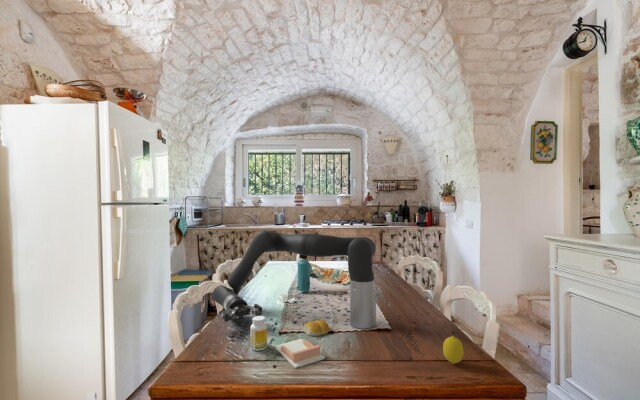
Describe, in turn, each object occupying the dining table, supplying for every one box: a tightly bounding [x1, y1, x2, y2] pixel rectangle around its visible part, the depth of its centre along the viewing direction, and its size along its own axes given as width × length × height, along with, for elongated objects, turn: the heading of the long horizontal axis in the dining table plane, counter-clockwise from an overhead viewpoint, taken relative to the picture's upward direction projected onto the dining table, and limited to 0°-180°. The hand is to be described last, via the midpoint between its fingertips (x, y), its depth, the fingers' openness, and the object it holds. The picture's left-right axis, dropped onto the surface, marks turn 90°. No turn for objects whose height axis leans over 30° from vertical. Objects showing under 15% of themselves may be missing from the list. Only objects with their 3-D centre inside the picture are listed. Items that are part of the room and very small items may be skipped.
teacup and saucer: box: [275, 293, 296, 306], centre depth 149 cm, size 9×8×4 cm
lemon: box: [442, 335, 465, 365], centre depth 92 cm, size 6×6×8 cm
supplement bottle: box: [249, 315, 268, 352], centre depth 103 cm, size 5×5×10 cm
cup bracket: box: [274, 338, 326, 369], centre depth 99 cm, size 15×10×3 cm, turn 31°
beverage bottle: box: [296, 254, 311, 292], centre depth 164 cm, size 6×7×20 cm
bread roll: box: [303, 319, 330, 337], centre depth 116 cm, size 8×9×4 cm
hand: (248, 318), depth 113 cm, fingers open, 8 cm apart
